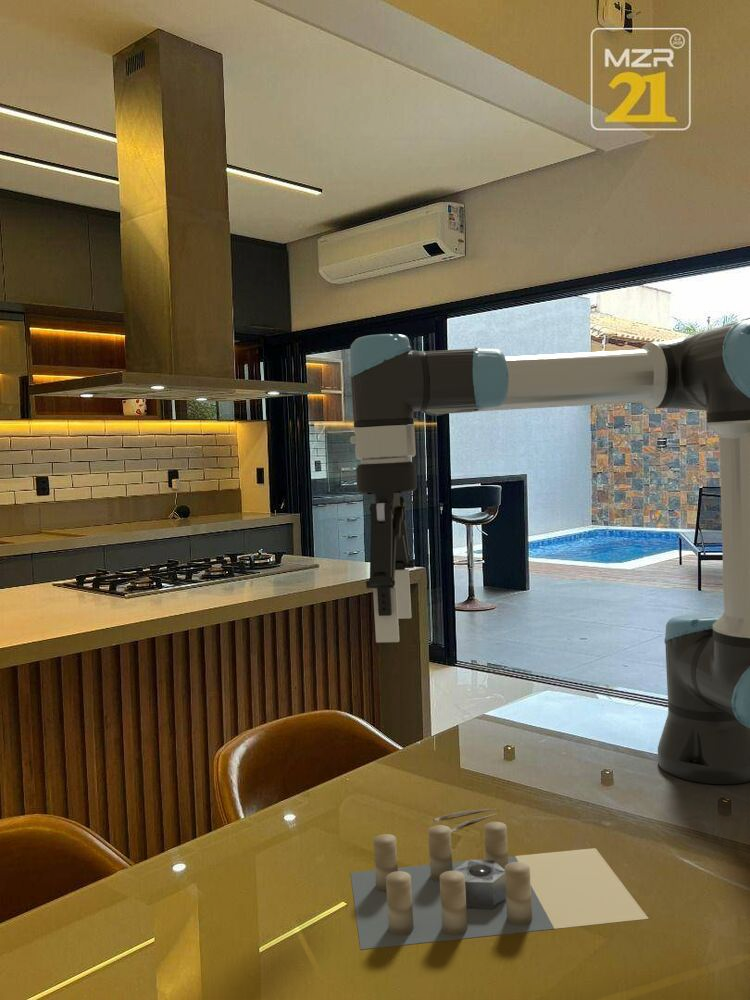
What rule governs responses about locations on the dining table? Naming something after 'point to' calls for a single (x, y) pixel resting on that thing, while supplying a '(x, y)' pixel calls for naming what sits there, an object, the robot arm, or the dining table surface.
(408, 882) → the pegs
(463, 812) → the metal tweezers
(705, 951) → the dining table surface
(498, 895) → the nut
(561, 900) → the mat
